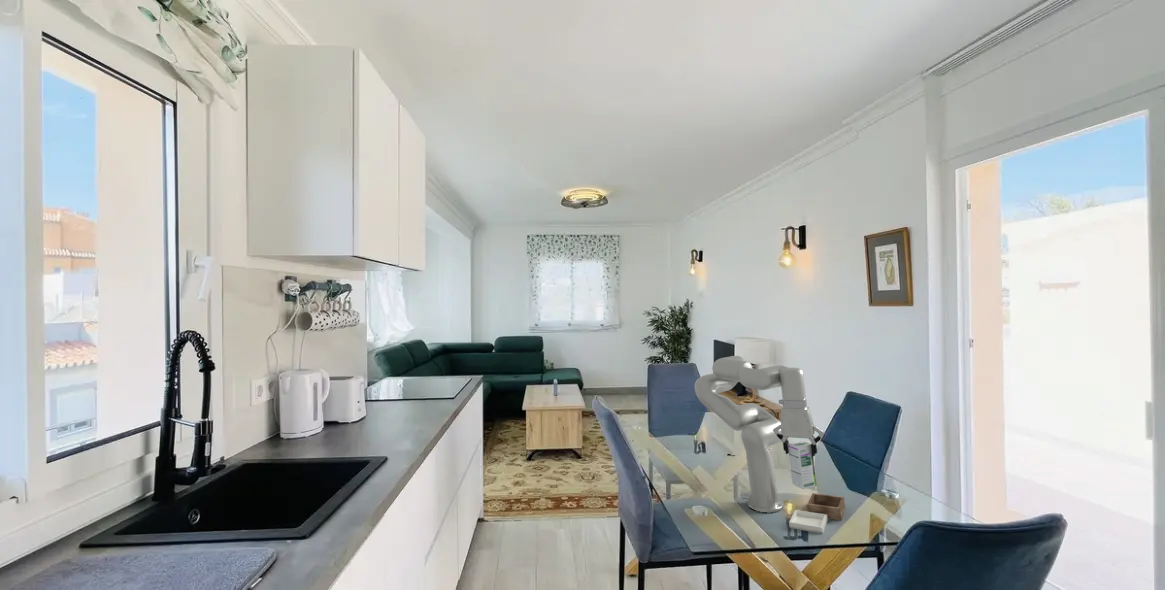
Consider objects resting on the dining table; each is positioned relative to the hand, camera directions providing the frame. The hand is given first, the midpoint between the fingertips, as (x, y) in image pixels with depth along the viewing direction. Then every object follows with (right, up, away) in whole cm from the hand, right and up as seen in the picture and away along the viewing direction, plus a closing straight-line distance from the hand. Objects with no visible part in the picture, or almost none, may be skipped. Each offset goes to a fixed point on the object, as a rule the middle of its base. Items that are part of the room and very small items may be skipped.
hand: (800, 453), depth 166 cm
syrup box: (+1, -11, 0) cm, 11 cm away
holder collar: (+13, -23, +7) cm, 27 cm away
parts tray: (+3, -24, -1) cm, 24 cm away
